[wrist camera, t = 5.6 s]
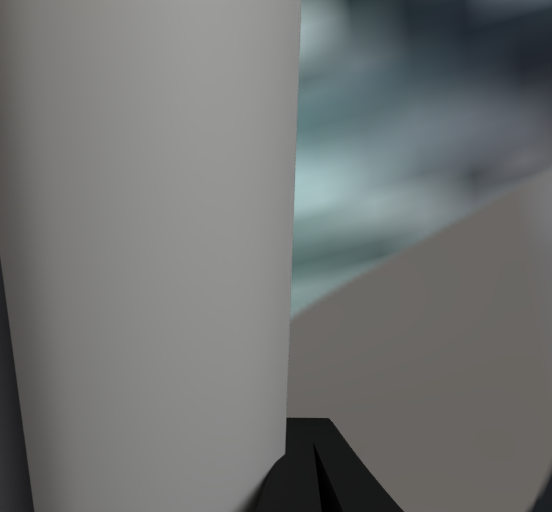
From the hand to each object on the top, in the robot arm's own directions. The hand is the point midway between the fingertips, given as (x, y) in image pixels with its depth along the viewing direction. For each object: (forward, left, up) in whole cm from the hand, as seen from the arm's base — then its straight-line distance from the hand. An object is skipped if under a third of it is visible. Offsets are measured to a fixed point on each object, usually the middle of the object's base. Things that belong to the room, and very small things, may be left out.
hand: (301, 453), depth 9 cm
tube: (0, +3, -2) cm, 3 cm away
